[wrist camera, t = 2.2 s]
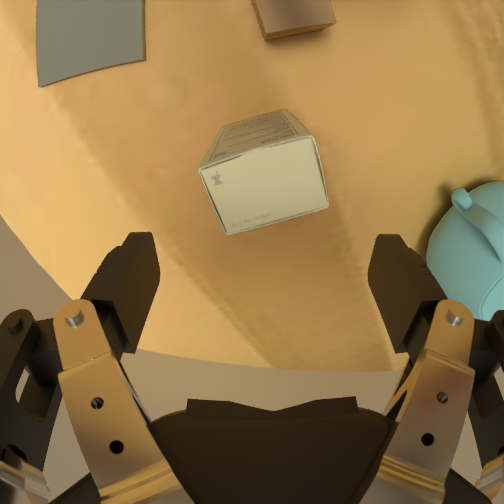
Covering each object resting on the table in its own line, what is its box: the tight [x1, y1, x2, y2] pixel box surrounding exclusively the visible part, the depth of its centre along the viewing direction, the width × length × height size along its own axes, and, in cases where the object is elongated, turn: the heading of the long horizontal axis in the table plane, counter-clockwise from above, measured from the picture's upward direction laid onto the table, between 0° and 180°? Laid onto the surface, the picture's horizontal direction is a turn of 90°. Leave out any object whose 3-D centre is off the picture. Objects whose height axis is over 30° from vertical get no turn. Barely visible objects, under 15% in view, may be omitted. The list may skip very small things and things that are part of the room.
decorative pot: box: [426, 181, 504, 321], centre depth 25 cm, size 16×16×14 cm
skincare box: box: [198, 109, 329, 235], centre depth 20 cm, size 6×4×12 cm
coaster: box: [36, 0, 146, 87], centre depth 17 cm, size 12×12×1 cm
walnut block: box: [252, 0, 336, 40], centre depth 17 cm, size 5×5×5 cm
